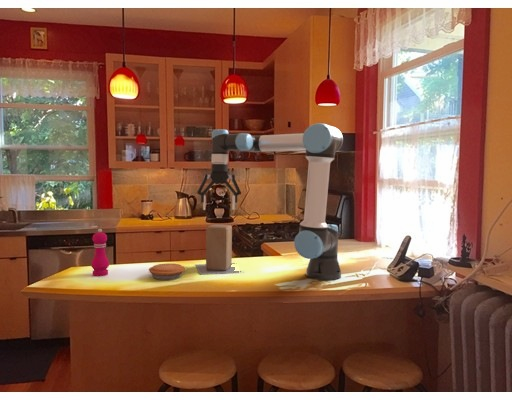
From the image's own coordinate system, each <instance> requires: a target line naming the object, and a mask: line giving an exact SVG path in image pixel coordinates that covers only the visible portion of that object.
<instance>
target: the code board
mask: <svg viewBox="0 0 512 400" xmlns="http://www.w3.org/2000/svg"><path fill="white" fill-rule="evenodd" d="M235 263H236V262H232V264H235ZM195 267H196V269H197V271H198V274H199V275H200V276H201V275H204V276H205V275H220V274H221V275H222V274H224V275H225V274H226V275H227V274H240V273H239V271H234V270H235V267H230V268H229V269H227V270H226V271H220V270H208V269H206V263H205V264H204V263H203V264H195Z"/></svg>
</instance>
